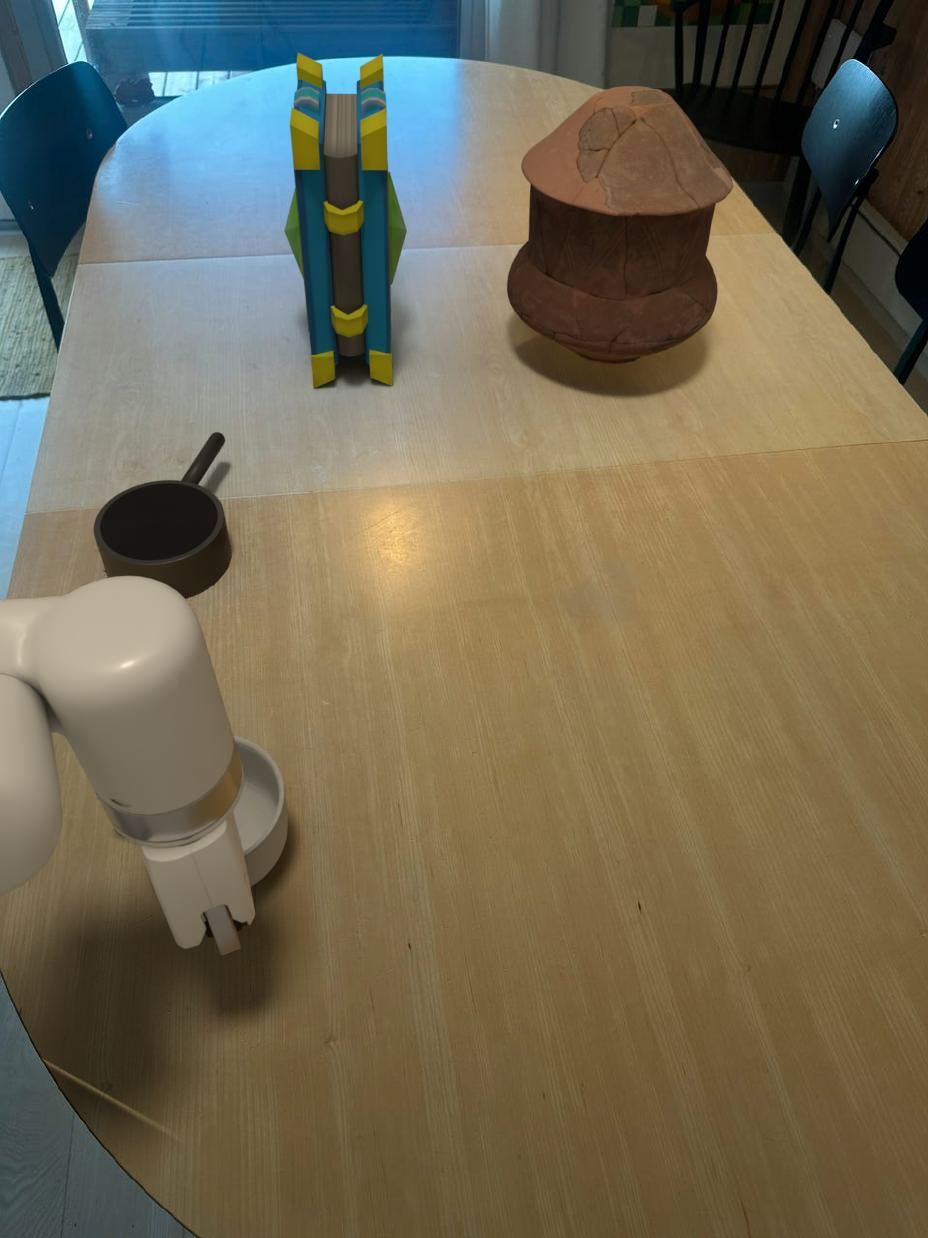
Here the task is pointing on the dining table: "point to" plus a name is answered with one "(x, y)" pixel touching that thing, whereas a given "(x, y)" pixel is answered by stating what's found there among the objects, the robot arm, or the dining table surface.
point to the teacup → (260, 810)
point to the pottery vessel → (619, 228)
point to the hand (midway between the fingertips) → (228, 920)
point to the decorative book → (344, 218)
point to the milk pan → (168, 530)
